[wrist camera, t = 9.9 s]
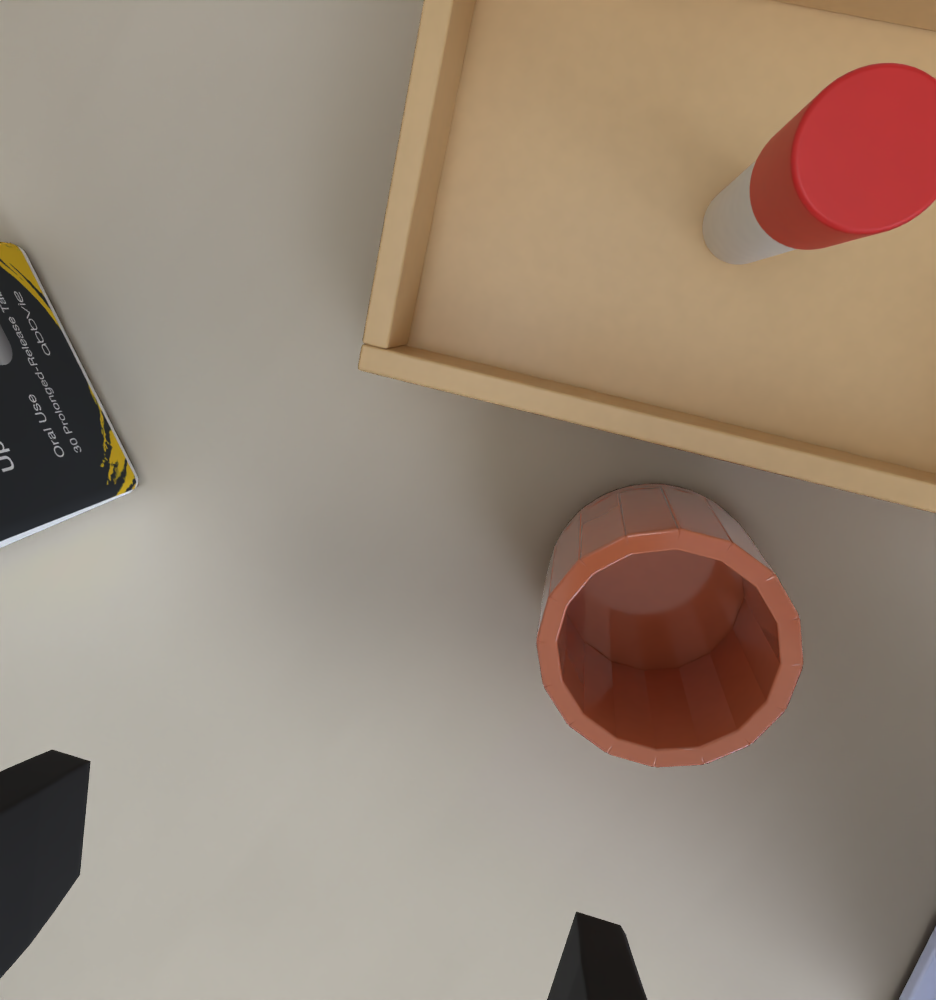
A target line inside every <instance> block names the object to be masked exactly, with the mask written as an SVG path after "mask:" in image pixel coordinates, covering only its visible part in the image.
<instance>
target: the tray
mask: <svg viewBox="0 0 936 1000" xmlns="http://www.w3.org/2000/svg"><path fill="white" fill-rule="evenodd" d="M878 63H899V64H905V65H909V66H913V67H916V68H918V69H920V70H922V71H924V72H926V73H928V74H929V75H931V76H932V77H934V78H935V79H936V0H424V2H423V8H422V13H421V19H420V25H419V30H418V36H417V41H416V47H415V52H414V58H413V63H412V69H411V74H410V80H409V85H408V91H407V97H406V102H405V108H404V113H403V119H402V124H401V130H400V135H399V141H398V146H397V152H396V158H395V163H394V169H393V174H392V180H391V185H390V191H389V196H388V202H387V207H386V213H385V218H384V224H383V230H382V235H381V241H380V246H379V252H378V257H377V263H376V268H375V274H374V279H373V285H372V291H371V296H370V302H369V307H368V313H367V318H366V324H365V329H364V335H363V343H364V344H363V345H362V347H361V352H360V358H359V363H358V369H359V370H360V371H364V372H369V373H373V374H377V375H381V376H385V377H389V378H393V379H397V380H401V381H405V382H409V383H413V384H417V385H421V386H425V387H429V388H433V389H437V390H441V391H445V392H449V393H453V394H457V395H461V396H465V397H469V398H473V399H477V400H481V401H485V402H489V403H493V404H497V405H501V406H506V407H510V408H514V409H518V410H522V411H526V412H530V413H534V414H538V415H542V416H546V417H550V418H554V419H558V420H562V421H566V422H570V423H574V424H578V425H582V426H586V427H590V428H594V429H598V430H602V431H606V432H610V433H614V434H618V435H622V436H626V437H630V438H634V439H638V440H642V441H647V442H651V443H655V444H659V445H663V446H667V447H671V448H675V449H679V450H683V451H687V452H691V453H695V454H699V455H703V456H707V457H711V458H715V459H719V460H723V461H727V462H731V463H735V464H739V465H743V466H747V467H751V468H755V469H759V470H763V471H767V472H771V473H775V474H779V475H784V476H788V477H792V478H796V479H800V480H804V481H808V482H812V483H816V484H820V485H824V486H828V487H832V488H836V489H840V490H844V491H848V492H852V493H856V494H860V495H864V496H868V497H872V498H876V499H880V500H884V501H888V502H892V503H896V504H900V505H904V506H908V507H912V508H916V509H921V510H925V511H929V512H933V513H936V200H935V201H934V202H933V203H932V204H931V205H930V206H929V207H928V208H927V209H926V210H925V211H923V212H922V213H921V214H920V215H919V216H917V217H916V218H914V219H913V220H911V221H910V222H908V223H906V224H904V225H902V226H900V227H898V228H895V229H892V230H890V231H886V232H883V233H879V234H875V235H871V236H868V237H864V238H860V239H856V240H852V241H849V242H845V243H841V244H837V245H834V246H830V247H826V248H822V249H815V250H801V249H796V250H792V251H789V252H785V253H782V254H779V255H775V256H772V257H768V258H765V259H762V260H758V261H755V262H751V263H747V264H741V265H739V264H730V263H726V262H724V261H722V260H720V259H718V258H717V257H716V256H714V255H713V254H712V253H711V251H710V250H709V249H708V247H707V245H706V243H705V240H704V237H703V228H702V226H703V219H704V215H705V212H706V210H707V208H708V206H709V204H710V203H711V201H712V200H713V199H714V198H715V197H716V196H717V195H718V194H719V193H720V192H721V191H722V190H723V189H725V188H726V187H727V186H728V185H729V184H730V183H731V182H732V181H734V180H735V179H736V178H737V177H738V176H739V175H740V174H741V173H743V172H744V171H745V170H746V169H747V168H748V167H749V166H750V165H752V164H753V163H754V162H755V161H756V160H757V158H758V156H759V154H760V152H761V151H762V149H763V148H764V146H765V145H766V144H767V143H768V142H769V140H770V139H771V138H772V137H773V136H774V135H775V134H776V133H777V132H778V131H780V130H781V129H782V128H783V127H784V126H785V125H786V124H787V123H788V122H789V121H790V120H791V119H792V118H793V117H794V116H796V115H797V114H798V113H799V112H800V111H801V110H802V109H803V108H804V107H805V106H806V105H807V104H808V103H809V102H810V101H812V100H813V99H814V98H815V97H816V96H817V95H818V94H819V93H820V92H821V91H822V90H823V89H824V88H825V87H827V86H828V85H829V84H830V83H832V82H833V81H834V80H836V79H837V78H839V77H841V76H842V75H844V74H846V73H848V72H850V71H852V70H855V69H857V68H860V67H864V66H867V65H871V64H878Z"/></svg>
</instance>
